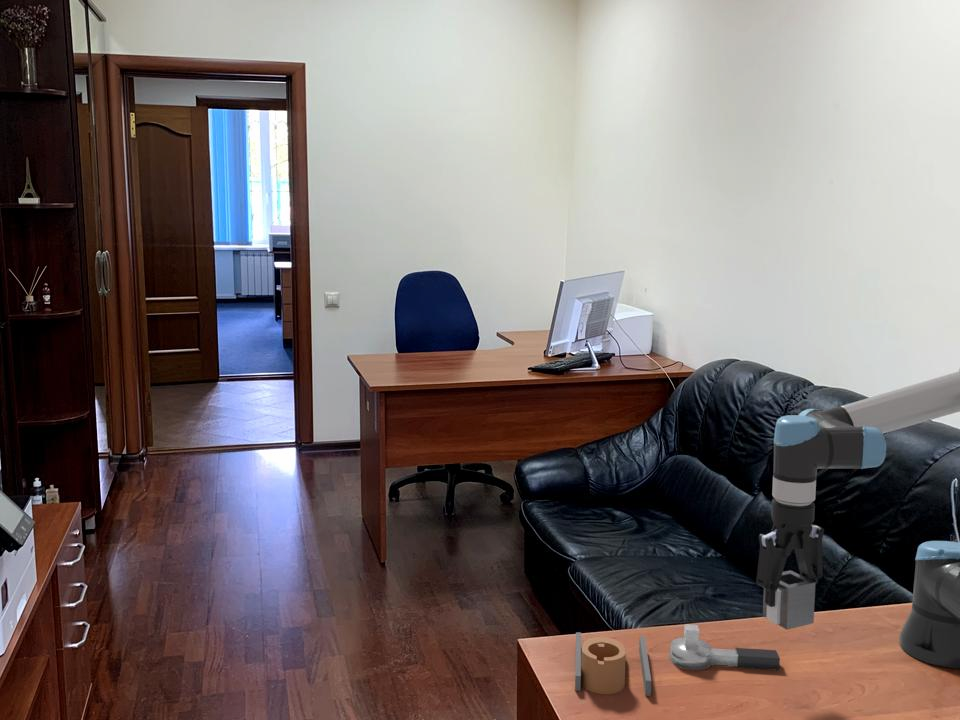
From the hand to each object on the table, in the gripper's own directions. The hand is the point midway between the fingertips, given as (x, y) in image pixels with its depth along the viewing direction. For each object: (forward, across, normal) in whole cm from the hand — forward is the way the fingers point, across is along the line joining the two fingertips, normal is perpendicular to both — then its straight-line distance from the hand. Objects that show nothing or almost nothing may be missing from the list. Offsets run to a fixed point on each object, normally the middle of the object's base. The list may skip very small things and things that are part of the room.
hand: (787, 617), depth 165 cm
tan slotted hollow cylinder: (+14, +29, -18) cm, 37 cm away
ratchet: (+14, +5, -12) cm, 19 cm away
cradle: (+13, +27, -18) cm, 35 cm away
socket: (0, 0, 0) cm, 0 cm away
